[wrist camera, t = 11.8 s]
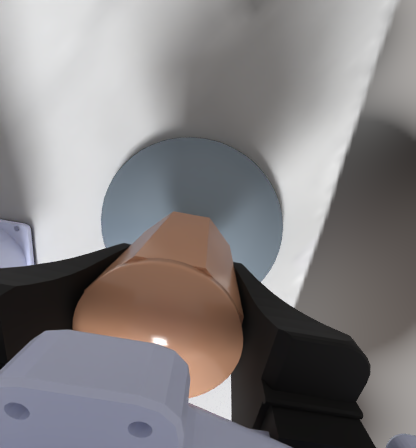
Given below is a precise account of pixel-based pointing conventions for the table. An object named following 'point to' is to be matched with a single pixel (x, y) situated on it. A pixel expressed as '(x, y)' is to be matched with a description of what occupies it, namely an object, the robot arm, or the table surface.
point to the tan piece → (173, 298)
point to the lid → (197, 198)
